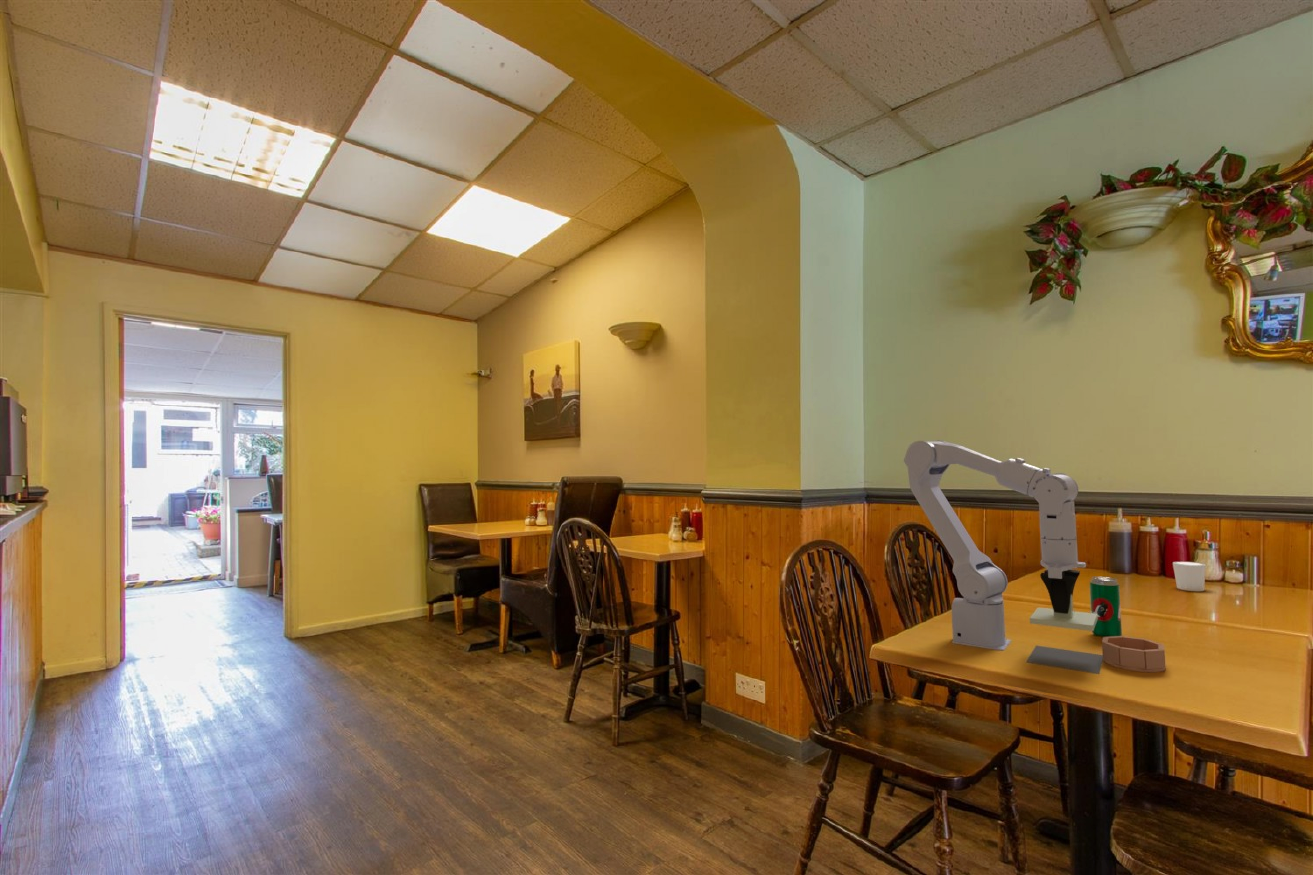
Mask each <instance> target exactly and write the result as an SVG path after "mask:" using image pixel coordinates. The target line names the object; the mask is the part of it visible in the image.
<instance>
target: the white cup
mask: <svg viewBox="0 0 1313 875" xmlns="http://www.w3.org/2000/svg"><path fill="white" fill-rule="evenodd" d="M1172 568H1173V573H1174V578H1175V583H1176V588H1177V589H1178V590H1181V591H1189V592H1203V591H1205V581H1206V580H1205V579H1206V564H1205V563H1201V562H1196V561H1195V562H1194V561H1173V562H1172Z"/></svg>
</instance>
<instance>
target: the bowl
mask: <svg viewBox="0 0 1313 875" xmlns="http://www.w3.org/2000/svg"><path fill="white" fill-rule="evenodd" d="M1101 646H1102V647H1101V648H1102V655H1103V661H1104V662H1105V663H1106V664H1108V665H1110V666H1112V667H1115V668H1119V669H1122V670H1127V671H1133V672H1138V673H1139V672H1140V673H1161V672H1164V671H1165V670H1166V667H1167V666H1166V654H1165V653H1166V651H1165V644H1163V643H1161V642H1160V643H1159V642H1156V641H1154V640H1150V639H1148V638H1143V637H1142V638H1141V637H1140V638H1139V637H1134V636H1125V635H1122V636H1112V637H1102V640H1101Z"/></svg>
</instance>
